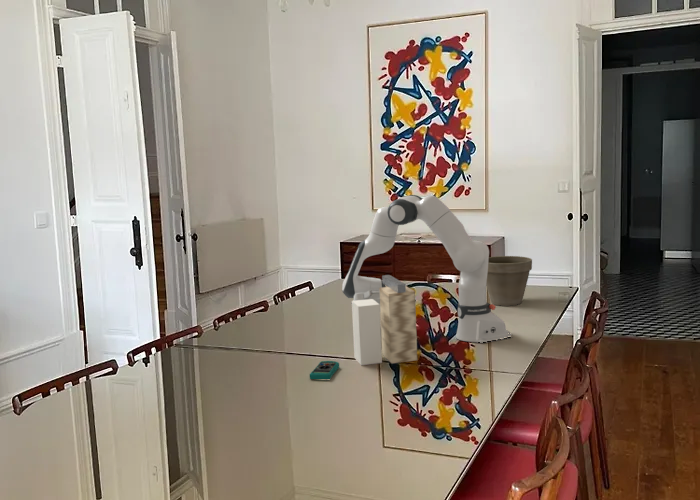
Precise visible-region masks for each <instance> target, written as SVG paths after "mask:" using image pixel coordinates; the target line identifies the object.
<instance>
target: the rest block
mask: <svg viewBox="0 0 700 500" xmlns="http://www.w3.org/2000/svg"><path fill="white" fill-rule="evenodd" d="M351 302H352V304H351V315H352V316H351V317H352V335H353V336H352V337H353V354H354V356H353V357H354V359H355V360H356V361H357V362H358V363H359V365H360V366H366V365H367V366H368V365H376V364H382V363H383V355H382V336H381V312H380V304H378V303H377V302H376V301H374V300H373V299H366V300H356V301H353V300H351Z"/></svg>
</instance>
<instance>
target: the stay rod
mask: <svg viewBox="0 0 700 500" xmlns="http://www.w3.org/2000/svg"><path fill="white" fill-rule="evenodd" d="M381 280H382V283H383V284H385V286H386V287H389V288H391V289H392V290H394V291H396V292H397V293H403V292H406V286H407V285H406V283H404V282H402V281H401V280H399V279H398V278H396V277H394V276H392V275H390V274H385V275H382V276H381Z"/></svg>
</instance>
